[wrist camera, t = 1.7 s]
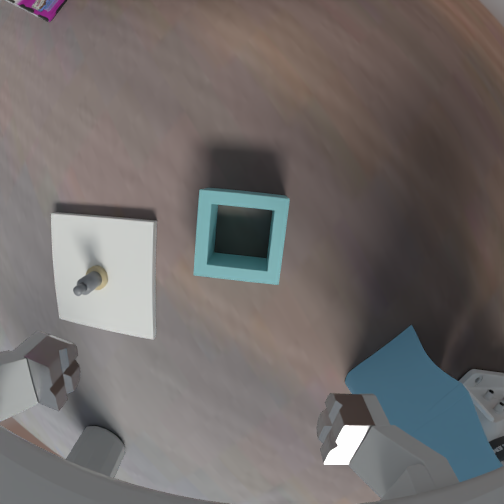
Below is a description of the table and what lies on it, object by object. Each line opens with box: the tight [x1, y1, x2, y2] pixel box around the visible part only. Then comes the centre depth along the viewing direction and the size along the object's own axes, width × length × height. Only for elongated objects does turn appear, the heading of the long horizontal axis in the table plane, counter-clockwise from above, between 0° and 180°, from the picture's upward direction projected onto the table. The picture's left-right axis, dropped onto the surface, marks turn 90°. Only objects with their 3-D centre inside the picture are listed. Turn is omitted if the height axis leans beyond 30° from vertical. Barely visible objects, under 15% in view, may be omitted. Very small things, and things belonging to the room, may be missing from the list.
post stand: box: [51, 212, 157, 340], centre depth 27 cm, size 12×12×5 cm
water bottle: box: [66, 426, 125, 478], centre depth 24 cm, size 9×8×25 cm
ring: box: [194, 188, 290, 285], centre depth 26 cm, size 7×7×4 cm
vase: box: [345, 325, 503, 482], centre depth 19 cm, size 10×10×25 cm
